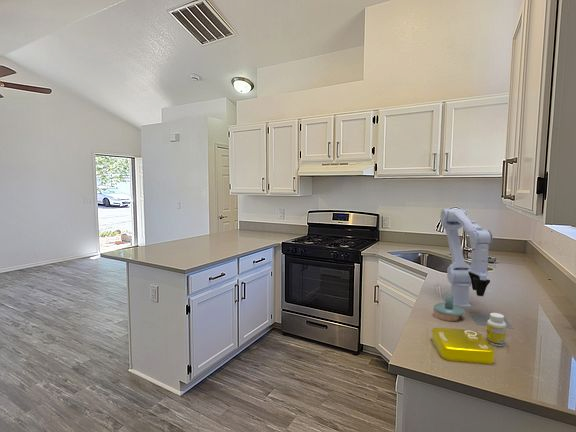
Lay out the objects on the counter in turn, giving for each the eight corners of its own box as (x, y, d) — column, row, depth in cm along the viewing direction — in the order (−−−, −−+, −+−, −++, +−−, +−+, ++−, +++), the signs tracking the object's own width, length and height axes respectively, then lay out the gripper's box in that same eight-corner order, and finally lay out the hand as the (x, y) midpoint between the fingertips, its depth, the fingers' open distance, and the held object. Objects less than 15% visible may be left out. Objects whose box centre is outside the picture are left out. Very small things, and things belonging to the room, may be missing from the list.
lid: (432, 304, 136) (433, 290, 136) (461, 307, 133) (462, 293, 132) (435, 313, 126) (435, 298, 126) (466, 317, 122) (467, 302, 122)
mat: (470, 314, 133) (470, 312, 133) (503, 317, 129) (503, 316, 129) (476, 325, 122) (476, 324, 122) (513, 330, 118) (513, 328, 118)
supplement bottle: (487, 337, 113) (488, 310, 112) (506, 342, 109) (507, 314, 108) (484, 343, 108) (486, 315, 108) (504, 348, 105) (505, 319, 104)
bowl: (432, 311, 136) (432, 305, 135) (456, 314, 133) (456, 307, 132) (434, 320, 127) (435, 313, 127) (460, 323, 124) (460, 315, 124)
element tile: (430, 338, 113) (430, 325, 113) (476, 342, 110) (477, 328, 110) (442, 361, 98) (443, 346, 98) (496, 365, 96) (497, 350, 95)
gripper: (464, 255, 137) (463, 286, 138) (472, 263, 123) (470, 297, 124) (483, 256, 134) (482, 288, 136) (493, 264, 121) (491, 299, 122)
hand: (477, 292), depth 130 cm, fingers open, 7 cm apart
